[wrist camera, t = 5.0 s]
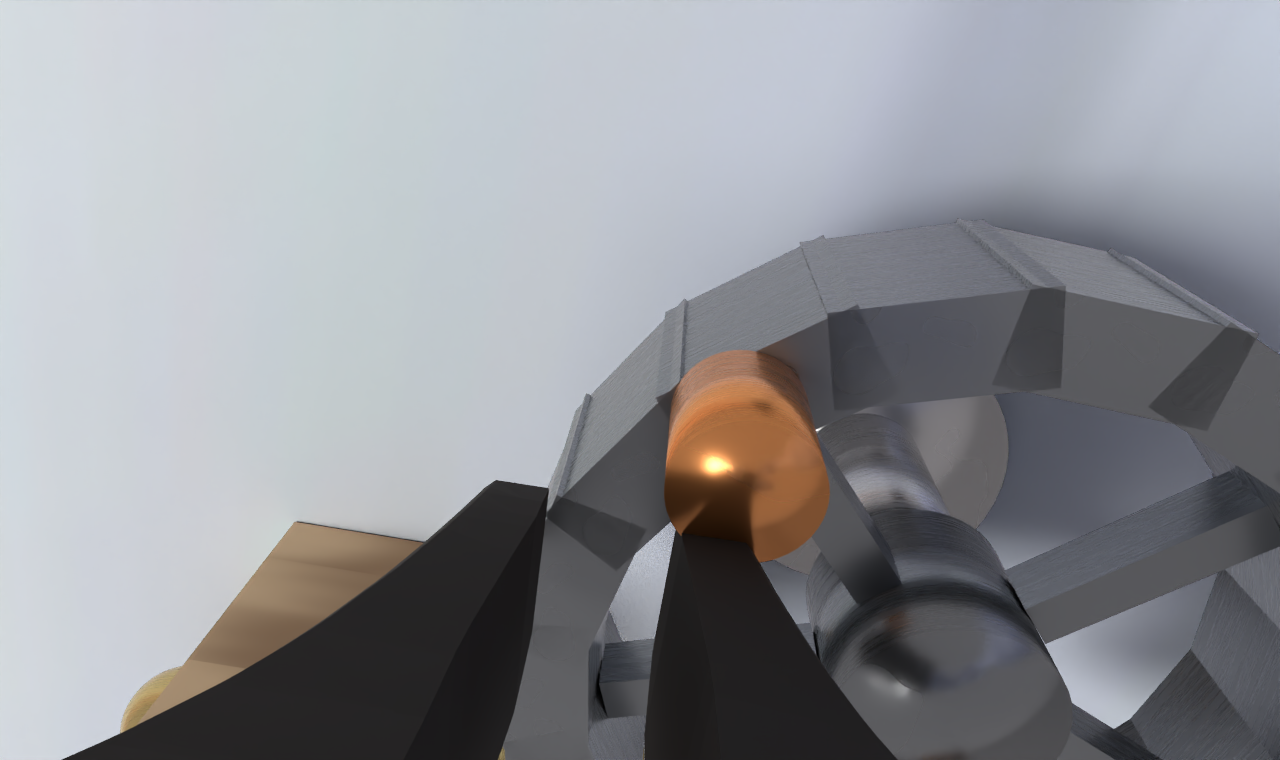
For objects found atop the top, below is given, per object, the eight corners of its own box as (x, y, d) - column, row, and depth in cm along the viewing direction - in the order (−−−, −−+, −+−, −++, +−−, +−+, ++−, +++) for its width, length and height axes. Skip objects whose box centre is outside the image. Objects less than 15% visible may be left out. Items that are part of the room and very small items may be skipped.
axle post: (1043, 351, 17) (1146, 458, 13) (955, 592, 20) (1020, 743, 16) (747, 303, 17) (760, 396, 13) (696, 550, 20) (694, 691, 16)
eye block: (464, 549, 20) (364, 778, 14) (447, 766, 23) (359, 1031, 17) (294, 522, 20) (125, 739, 14) (299, 741, 23) (159, 998, 17)
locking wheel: (1154, 831, 16) (1318, 1137, 12) (502, 697, 16) (426, 960, 12) (1479, 329, 12) (1918, 517, 8) (604, 135, 12) (548, 218, 7)
